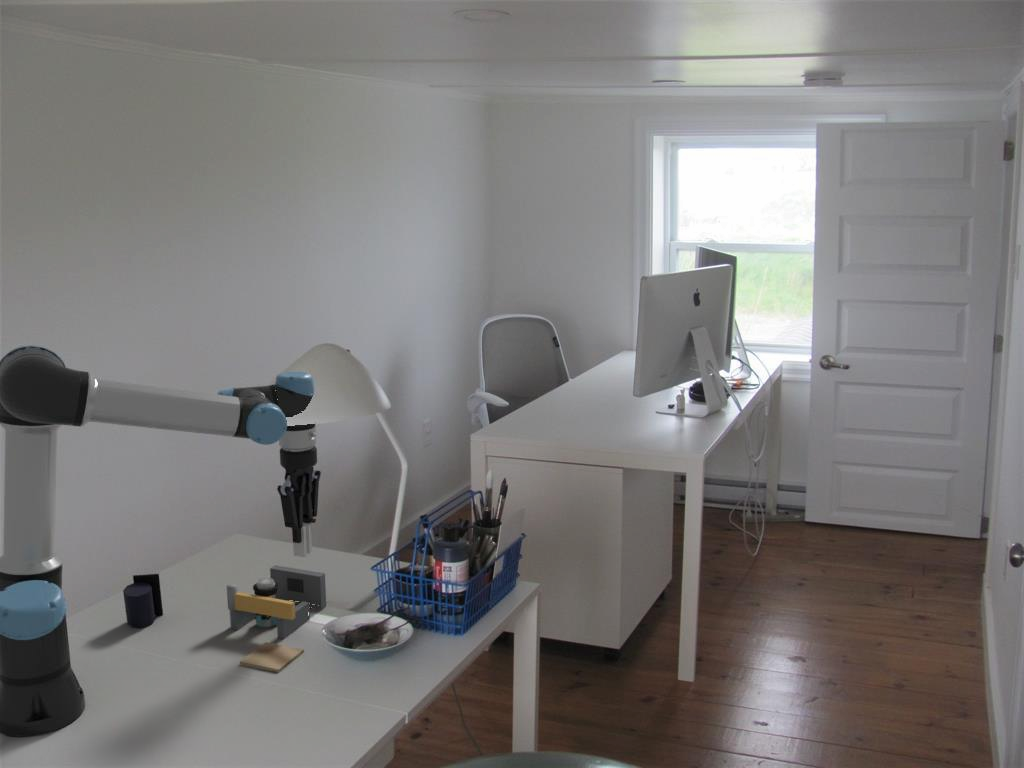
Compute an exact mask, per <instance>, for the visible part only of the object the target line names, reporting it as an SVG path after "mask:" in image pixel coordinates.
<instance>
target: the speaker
mask: <svg viewBox="0 0 1024 768" xmlns="http://www.w3.org/2000/svg"><path fill="white" fill-rule="evenodd" d="M132 579H133V583H130V584H128V585H127V586H125V588H124V589H123V590H122V594H123V600H124V608H125V616H126V623H127V625H128V626H129V627H130V628H133V629H134V628H135V629H142V628H143V629H144V628H146V627H149V626H151V625H153V623H154V622H155V621H156V617H157V616H163V615H164V610H163V600H162V591H161V581H160V573H150V574H149V573H148V574H136V575H132Z"/></svg>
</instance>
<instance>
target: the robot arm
mask: <svg viewBox="0 0 1024 768" xmlns="http://www.w3.org/2000/svg"><path fill="white" fill-rule="evenodd" d="M275 390H276V391H275ZM314 392H315V384H314V378H313V376H312V375H311V374H310V373H308V372H307V371H287V372H282V373H281V372H280V373H279V374H277V375H276V379H275V383H274V384H270V385H268V384H267V385H260V386H259V385H258V386H247V387H233V388H229V389H222V390H220V391H219V392H217V393H208V392H202V391H194V390H193V391H192V390H187V389H184V390H183V389H177V388H176V389H175V388H168V387H163V386H162V387H161V386H154V385H145V384H140V383H139V384H138V383H131V382H125V381H124V382H122V381H115V380H114V381H113V380H109V379H108V380H107V379H99V378H95V377H94V375H93V374H92V373H91V371H90V372H89V371H83V370H78V369H77V370H76V369H72V368H69V367H66V365H65V362H64V360H63V359H62V358H61V357H60V356H59V355H58V354H57V353H56V352H55V351H53V350H50V349H49V348H46V347H44V346H40V345H35V344H34V345H33V344H32V345H31V344H26V345H22V346H18V347H15V348H14V349H11V350H10V351H8V352H7V353H6V354H5V355H4V356H3V357H2V358H1V359H0V426H1V428H3V429H4V434H5V435H4V485H3V486H4V488H3V489H4V491H3V492H4V493H3V494H4V496H3V497H4V498H3V500H4V502H3V545H2V547H3V548H2V549H3V551H2V554H1V556H0V734H2V735H4V736H11V737H32V736H37V735H38V736H39V735H42V734H47V733H50V732H53V731H56V730H59V729H61V728H64V727H65V726H68V725H69V724H72V723H73V722H74V721H75V720H77V719H78V718H79V717H80V716H81V715H82V714H83V713H84V712H85V708H86V700H85V693H84V689H83V688H82V686H81V684H80V682H79V680H78V678H77V677H76V673H75V672H74V670H73V668H72V666H71V665H72V664H71V655H70V644H69V642H70V641H69V633H68V625H67V623H68V622H67V614H66V611H67V603H66V598H65V596H64V593H63V559H62V557H61V556H60V555H59V554H57V553H56V552H55V532H56V531H55V530H56V527H55V526H56V525H55V524H56V523H55V521H56V518H55V517H56V491H57V490H56V487H57V486H56V483H57V477H56V476H57V444H58V443H57V441H58V430H59V428H61V427H62V426H70V427H71V426H72V427H84V426H85V425H86V424H88V423H99V424H108V425H119V426H126V427H127V426H129V427H136V428H137V427H138V428H146V429H147V428H148V429H154V430H155V429H156V430H157V429H158V430H166V431H177V432H186V433H192V434H193V433H194V434H196V433H197V434H204V435H213V436H222V437H223V436H224V437H231V438H239V439H247V440H251V441H253V442H255V443H256V444H258V445H259V444H260V445H266V446H268V445H273V444H275V443H277V442H278V445H279V447H280V449H279V463H280V466H281V467H282V468H283V469H284V470H285V473H284V482H283V484H282V485H281V484H280V485H278V486H277V489H276V490H277V492H278V495H279V496H280V503H281V509H282V516H283V522H284V526H285V528H290V529H291V532H292V533H291V534H292V535H291V536H292V545H293V546H292V548H293V556H294V557H299V558H306V557H307V555H311V554H312V553H313V546H312V544H313V543H312V542H313V541H312V524H316V521H317V519H316V517H317V516H318V508H319V507H318V506H319V505H318V504H319V486H320V478H321V474H322V473H321V472H322V471H320V470H316V469H314V466H316V465H317V464H318V452H317V451H318V450H317V447H316V444H317V431H316V423H315V424H307V425H295V426H287V420H286V417H293V416H294V415H297V414H299V413H302V412H301V411H304V410H305V409H306V407H307V406H308V404H309V403H310V401H311V399H312V397H313V395H314ZM277 399H278V400H277ZM314 517H315V518H314Z"/></svg>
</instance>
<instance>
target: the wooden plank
mask: <svg viewBox="0 0 1024 768" xmlns="http://www.w3.org/2000/svg"><path fill="white" fill-rule="evenodd" d="M238 589H239V588H238V584H236V583H229V584H227V585H226V596H227V597H226V599H227V601H226V602H227V609H228V611H230V610H241V611H246V612H252V613H257V614H263V615H268V616H274V617H279V618H284V619H290V620H293V619H294V618H295V607H296V606H295V602H292V601H286V600H281V599H275V598H272V597H270V598H269V597H264V596H258V595H255V594H251V593H245V592H240V591H238Z"/></svg>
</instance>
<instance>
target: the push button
mask: <svg viewBox="0 0 1024 768" xmlns="http://www.w3.org/2000/svg"><path fill="white" fill-rule="evenodd" d="M278 587H279V584H278V583H277V582H275V581H274V580H273V579H271V577H263V578H261V579H258V580H257V581H256V583H255V584H253V585H252V589H253V592H254V594H253V595H258V596H264V597H269V598H275V594H276V593H277V591H278ZM278 619H279V617H274V616H268V615H263V614H257V613H256V618H255V622H256V623H255V624H256V627H257V629H260V628H265V627H266V628H270V627H274V626H277V620H278Z"/></svg>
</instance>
